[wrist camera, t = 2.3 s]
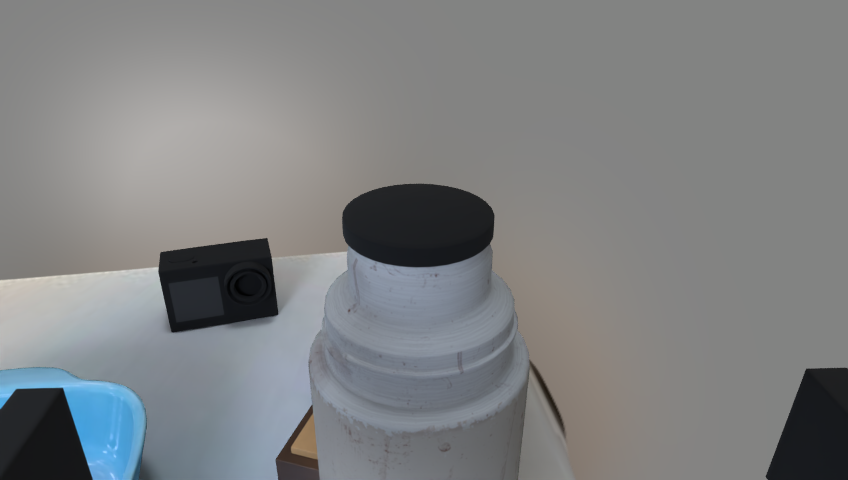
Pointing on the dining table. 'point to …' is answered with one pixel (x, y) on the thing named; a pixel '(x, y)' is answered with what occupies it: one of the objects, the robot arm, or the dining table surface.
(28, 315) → the dining table surface
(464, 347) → the thermos bottle
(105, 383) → the casserole dish
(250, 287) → the digital camera
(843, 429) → the robot arm
